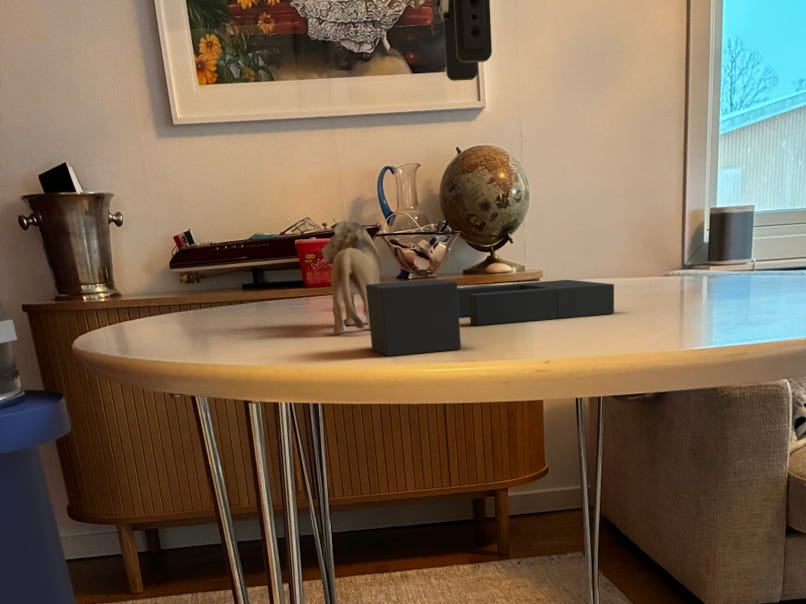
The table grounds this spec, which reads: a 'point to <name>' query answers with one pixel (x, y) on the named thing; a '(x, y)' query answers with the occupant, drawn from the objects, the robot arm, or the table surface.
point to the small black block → (414, 317)
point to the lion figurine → (351, 271)
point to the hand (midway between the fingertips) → (468, 71)
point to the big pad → (535, 301)
